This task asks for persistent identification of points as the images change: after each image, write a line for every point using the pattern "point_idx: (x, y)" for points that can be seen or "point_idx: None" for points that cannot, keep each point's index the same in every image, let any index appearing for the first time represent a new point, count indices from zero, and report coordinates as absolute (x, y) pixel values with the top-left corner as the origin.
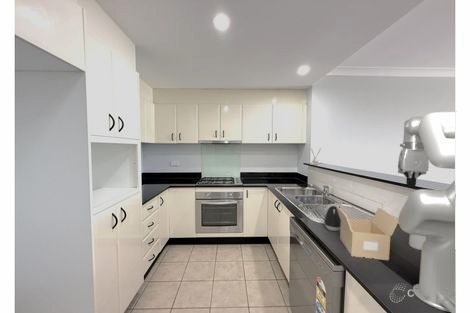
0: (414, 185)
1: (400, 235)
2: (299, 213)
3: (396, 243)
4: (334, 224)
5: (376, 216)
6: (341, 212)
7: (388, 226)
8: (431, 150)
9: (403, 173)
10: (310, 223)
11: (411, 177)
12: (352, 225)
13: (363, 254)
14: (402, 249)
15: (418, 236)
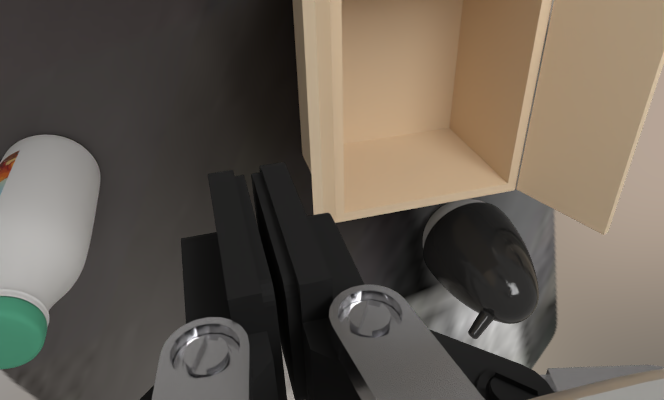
0: (224, 185)
1: (109, 292)
2: (541, 346)
3: (166, 177)
4: (482, 211)
5: None
6: (642, 86)
7: (326, 36)
8: None
9: (565, 382)
10: (533, 252)
11: (336, 309)
12: (433, 172)
13: None
14: (157, 108)
15: (55, 177)
